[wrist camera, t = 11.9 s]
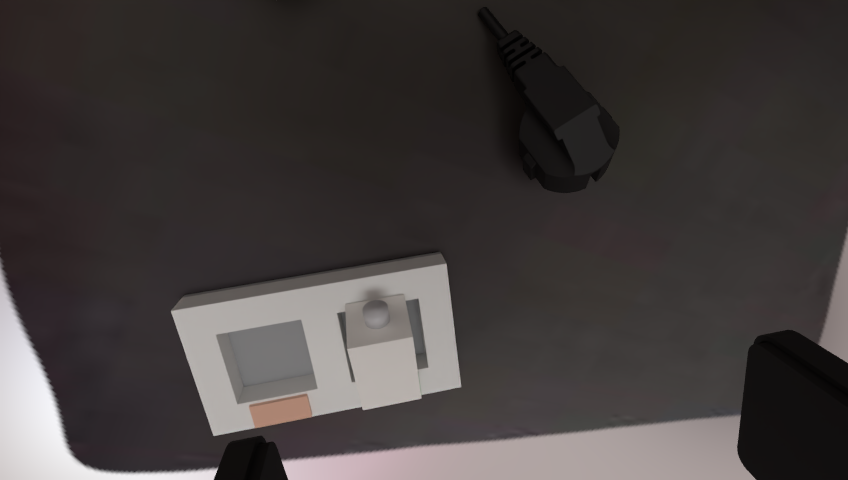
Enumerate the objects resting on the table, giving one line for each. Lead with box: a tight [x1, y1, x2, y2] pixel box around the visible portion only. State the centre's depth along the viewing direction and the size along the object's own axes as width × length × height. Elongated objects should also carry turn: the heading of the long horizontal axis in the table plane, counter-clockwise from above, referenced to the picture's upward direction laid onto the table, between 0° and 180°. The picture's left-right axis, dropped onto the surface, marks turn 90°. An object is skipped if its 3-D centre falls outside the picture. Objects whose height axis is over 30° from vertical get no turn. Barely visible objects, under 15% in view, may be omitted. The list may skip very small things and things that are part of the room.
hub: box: [171, 252, 461, 436], centre depth 33 cm, size 18×10×3 cm, turn 97°
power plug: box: [478, 7, 619, 193], centre depth 30 cm, size 6×8×12 cm
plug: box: [345, 294, 421, 410], centre depth 31 cm, size 4×4×7 cm
